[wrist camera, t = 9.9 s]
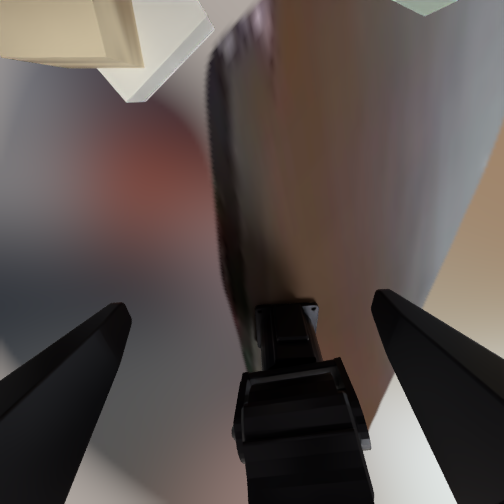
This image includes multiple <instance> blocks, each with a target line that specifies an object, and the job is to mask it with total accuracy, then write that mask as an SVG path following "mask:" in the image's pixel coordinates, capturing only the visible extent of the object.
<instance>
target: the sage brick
mask: <svg viewBox="0 0 504 504" xmlns="http://www.w3.org/2000/svg"><path fill="white" fill-rule="evenodd" d="M393 1H395V2H397V3H399V4H401V5H403V6H405V7H407V8H409V9H411V10H413V11H415V12H417V13H419V14H421V15H423V16H427V15H429V14H431V13H433V12H435V11H437V10H439V9H441V8H443V7H446V6H448V5H450V4H452V3H454V2H456V1H458V0H393Z"/></svg>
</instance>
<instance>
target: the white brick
mask: <svg viewBox="0 0 504 504" xmlns="http://www.w3.org/2000/svg"><path fill="white" fill-rule="evenodd" d="M132 5H133V10H134V15H135V20H136V26H137V31H138V36H139V41H140V46H141V51H142V57H143V62H144V67H145V68H97V69H98V70H99V71H100V72H101V74H102V75H103V76H104V77H105V78H106V79H107V80H108V82H109V83H110V84H111V85H112V86H113V88H114V89H115V90H116V91H117V92H118V93H119V94H120V96H121V97H122V98H123V99H124V100H125V101H126V103H129V102H146V101H147V100H148V99H149V98H150V97H151V96H152V95H153V94H154V93H155V92H156V91H157V90H158V89H159V88H160V87H161V86H162V85H163V84H164V83H165V82H166V81H167V79H168V78H169V77H170V76H171V75H172V74H173V73H174V72H175V71H176V70H177V69H178V68H179V67H180V66H181V65H182V64H183V63H184V62H185V61H186V60H187V59H188V58H189V57H190V56H191V55H192V54H193V53H194V51H196V49H197V48H198V47H199V46H200V45H201V44H202V43H203V42H204V41H205V40H206V39H207V38H208V37H209V36H210V35H211V34H212V33H213V32H214V31H215V29H214V27H213V25H212V23H211V21H210V19H209V17H208V15H207V14H206V12H205V10H204V9H203V7H202V5H201V4H200V2H199V0H132Z"/></svg>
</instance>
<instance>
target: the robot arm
mask: <svg viewBox="0 0 504 504" xmlns="http://www.w3.org/2000/svg"><path fill="white" fill-rule="evenodd" d="M313 307H314V308H313ZM318 311H319V307H318V304H317V303H295V304H274V305H258V306H256V307H255V316H256V329H257V342H258V347H259V348H261V359H262V371H258V372H252V373H249V372H245V373H243V374H242V380H241V382H240V386H239V392H238V398H237V404H236V410H235V416H234V422H233V423H234V425H233V427H232V437H233V438H234V440H235V441H236V445H237V450H238V455H239V458H240V460H241V462H242V463H243V464H245V466H246V475H247V486H248V503H249V504H374V492H373V487H372V484H371V480H370V476H369V473H368V469H367V465H366V461H365V458H364V454H363V450H371V443H370V438H369V433H368V429H367V426H366V422H365V419H364V415H363V412H362V409H361V406H360V404H359V401H358V398H357V396H356V393H355V391H354V389H353V386H352V384H351V381H350V379H349V377H348V374H347V372H346V370H345V367H344V365H343V363H342V360H341V358H340V357H338V358H334V359H333V360H327V361H323V359H322V355H321V352H320V348H319V345H318V341H317V337H316V328H317V319H318ZM371 311H372V315H373V318H374V321H375V323H376V326H377V329H378V332H379V335H380V338H381V341H382V344H383V346H384V349H385V352H386V354H387V356H388V359H389V361H390V363H391V365H392V367H393V369H394V371H395V373H396V375H397V377H398V380H399V382H400V384H401V386H402V388H403V390H404V392H405V394H406V397H407V399H408V401H409V403H410V405H411V407H412V409H413V411H414V413H415V415H416V418H417V420H418V422H419V424H420V426H421V428H422V430H423V432H424V434H425V436H426V438H427V441H428V443H429V445H430V447H431V449H432V451H433V453H434V455H435V458H436V460H437V462H438V464H439V466H440V468H441V470H442V472H443V474H444V477H445V479H446V481H447V483H448V485H449V487H450V489H451V491H452V493H453V495H454V498H455V500H456V502H457V504H504V359H502V358H501V357H500V356H498V355H496V354H495V353H493V352H491V351H489V350H488V349H486V348H485V347H483V346H482V345H480V344H478V343H477V342H475V341H473V340H472V339H470V338H469V337H467V336H465V335H463V334H462V333H460V332H459V331H457V330H455V329H454V328H452V327H450V326H449V325H447V324H446V323H444V322H442V321H441V320H439V319H438V318H436V317H434V316H432V315H431V314H429V313H428V312H426V311H424V310H423V309H421V308H420V307H418V306H416V305H415V304H413V303H411V302H410V301H408V300H406V299H405V298H403V297H402V296H400V295H398V294H397V293H395V292H393V291H392V290H390V289H378V290H376V292H375V295H374V298H373V302H372V305H371ZM131 324H132V319H131V316H130V315H129V312H128V310H127V308H126V306H125V304H124V303H122V302H117V303H110V304H109V305H107V306H106V307H104V308H103V309H102V310H100V311H99V312H97V313H96V314H94V315H93V316H92V317H90V318H89V319H87V320H86V321H85V322H83V323H82V324H80V325H79V326H77V327H76V328H75V329H73V330H72V331H70V332H69V333H67V334H66V335H65V336H63V337H62V338H60V339H59V340H57V341H56V342H55V343H53V344H52V345H50V346H49V347H48V348H46V349H45V350H43V351H42V352H40V353H39V354H38V355H36V356H35V357H33V358H32V359H30V360H29V361H27V362H26V363H25V364H23V365H22V366H21V367H19V368H17V369H16V370H15V371H13V372H12V373H10V374H9V375H7V376H6V377H5V378H3V379H2V380H0V504H64V503H65V501H66V498H67V496H68V493H69V491H70V488H71V486H72V483H73V481H74V478H75V476H76V473H77V471H78V468H79V466H80V463H81V461H82V458H83V456H84V453H85V451H86V448H87V446H88V443H89V441H90V438H91V436H92V433H93V431H94V428H95V426H96V423H97V421H98V418H99V416H100V413H101V411H102V408H103V406H104V403H105V401H106V398H107V396H108V393H109V391H110V388H111V386H112V383H113V381H114V378H115V376H116V373H117V371H118V368H119V365H120V362H121V359H122V356H123V352H124V349H125V345H126V342H127V338H128V335H129V331H130V328H131Z"/></svg>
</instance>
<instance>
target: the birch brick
mask: <svg viewBox="0 0 504 504" xmlns="http://www.w3.org/2000/svg"><path fill="white" fill-rule="evenodd" d="M0 56H1V58H7V59H13V60H19V61H26V62H32V63H38V64H44V65H51V66H57V67H63V68H145V67H144V62H143V57H142V51H141V46H140V41H139V36H138V31H137V26H136V20H135V15H134V10H133V5H132V0H0Z"/></svg>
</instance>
